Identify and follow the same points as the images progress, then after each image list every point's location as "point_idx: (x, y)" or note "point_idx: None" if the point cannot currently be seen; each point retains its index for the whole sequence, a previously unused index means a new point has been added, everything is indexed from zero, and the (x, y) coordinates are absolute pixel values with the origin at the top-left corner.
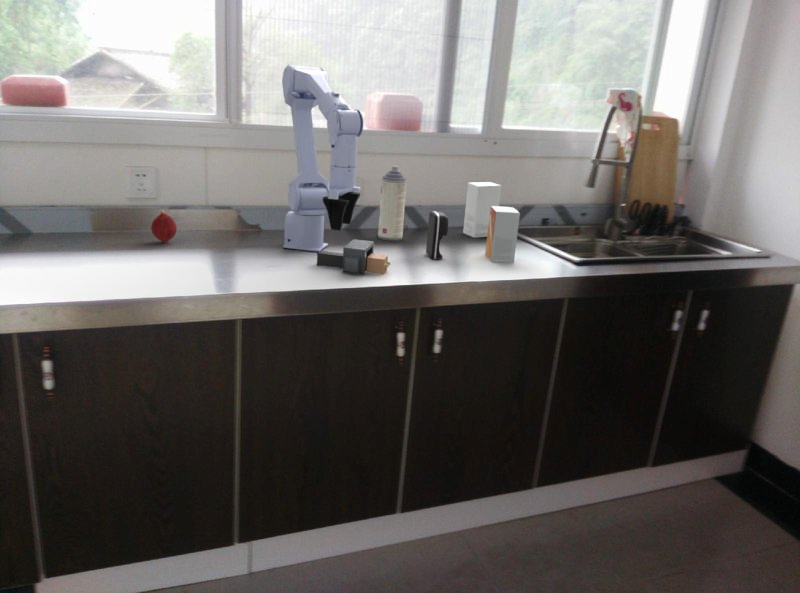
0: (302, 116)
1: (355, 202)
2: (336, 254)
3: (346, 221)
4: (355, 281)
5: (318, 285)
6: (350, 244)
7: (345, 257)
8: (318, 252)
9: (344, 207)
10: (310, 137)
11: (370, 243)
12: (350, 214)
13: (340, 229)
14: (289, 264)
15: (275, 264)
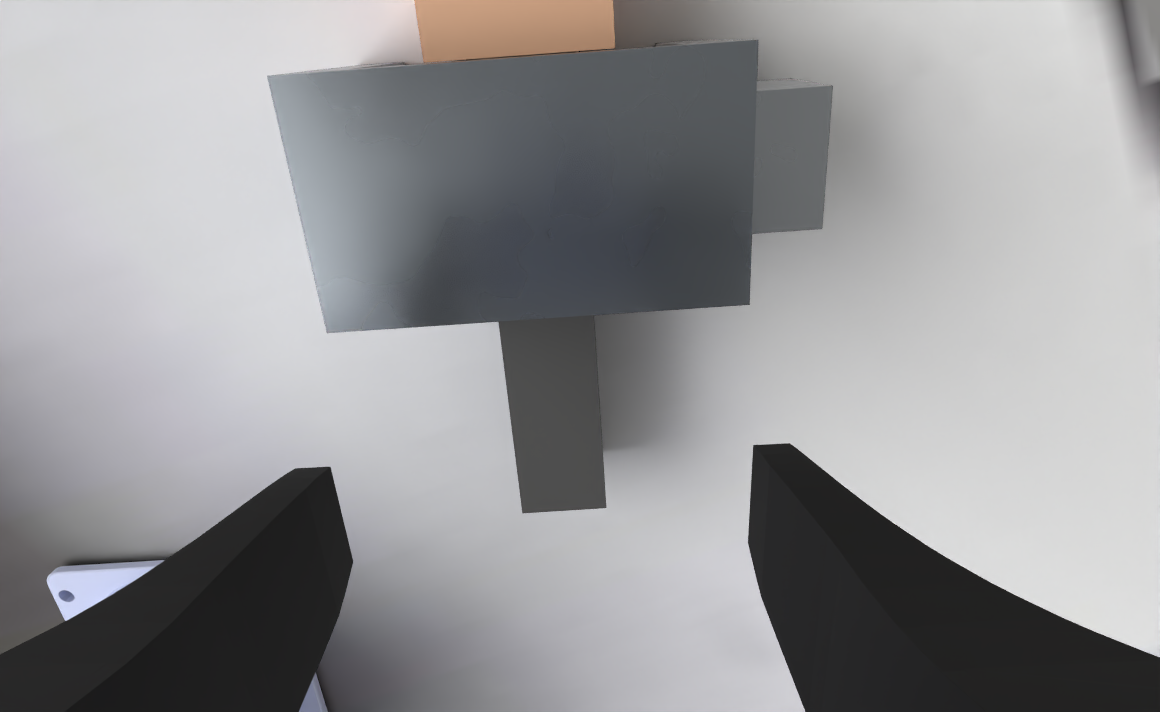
0: None
1: (58, 673)
2: (569, 371)
3: (325, 520)
4: (912, 47)
5: (1092, 273)
6: (583, 282)
7: (805, 229)
8: (583, 506)
9: (1126, 648)
10: None
11: (393, 88)
12: (266, 549)
13: (775, 446)
14: (665, 590)
15: (703, 647)
